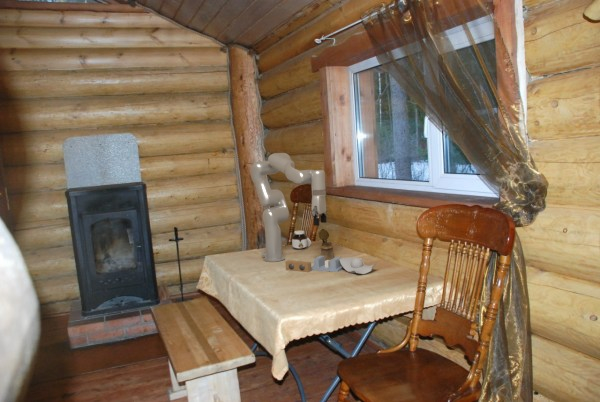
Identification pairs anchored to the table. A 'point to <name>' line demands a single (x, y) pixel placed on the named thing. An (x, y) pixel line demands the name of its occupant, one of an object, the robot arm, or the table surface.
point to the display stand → (327, 264)
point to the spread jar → (300, 240)
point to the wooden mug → (326, 245)
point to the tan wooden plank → (298, 266)
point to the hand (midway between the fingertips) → (320, 224)
